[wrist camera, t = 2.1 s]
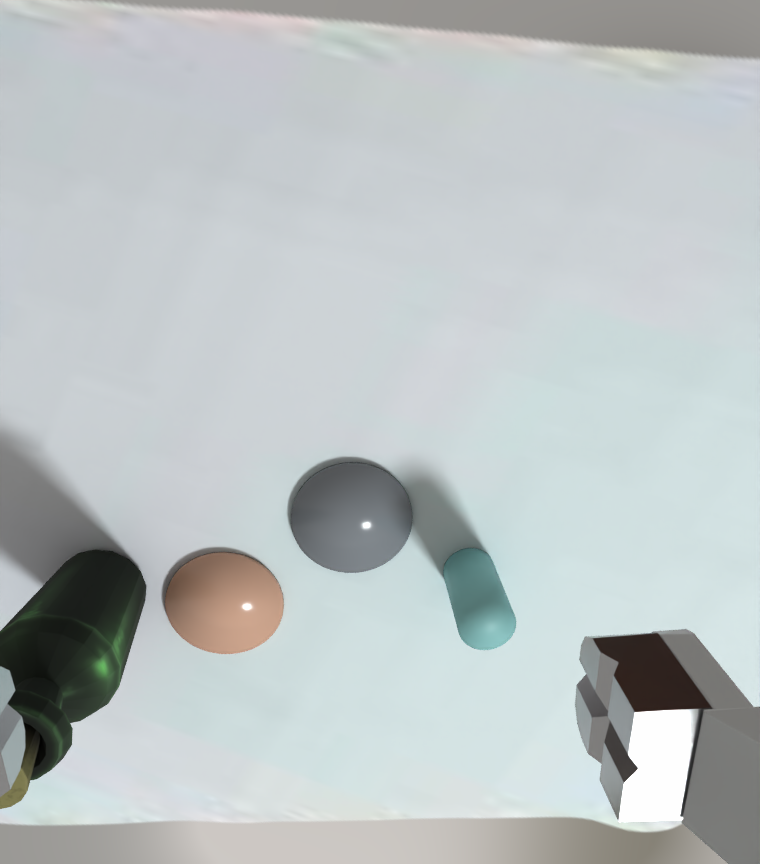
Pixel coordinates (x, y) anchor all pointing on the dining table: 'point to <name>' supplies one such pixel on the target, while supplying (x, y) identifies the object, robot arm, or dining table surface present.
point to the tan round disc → (224, 603)
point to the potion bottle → (69, 654)
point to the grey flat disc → (351, 517)
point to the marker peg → (478, 600)
